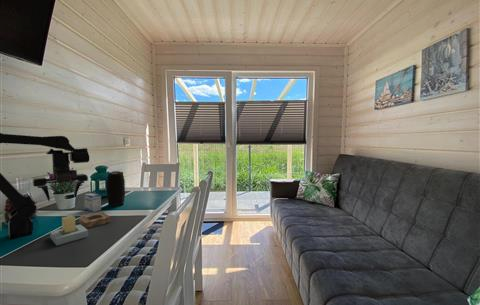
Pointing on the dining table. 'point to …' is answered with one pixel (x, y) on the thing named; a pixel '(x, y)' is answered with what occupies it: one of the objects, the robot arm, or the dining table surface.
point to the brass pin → (68, 225)
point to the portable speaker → (115, 188)
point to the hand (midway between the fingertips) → (62, 198)
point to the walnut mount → (94, 220)
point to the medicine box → (92, 202)
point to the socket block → (68, 235)
